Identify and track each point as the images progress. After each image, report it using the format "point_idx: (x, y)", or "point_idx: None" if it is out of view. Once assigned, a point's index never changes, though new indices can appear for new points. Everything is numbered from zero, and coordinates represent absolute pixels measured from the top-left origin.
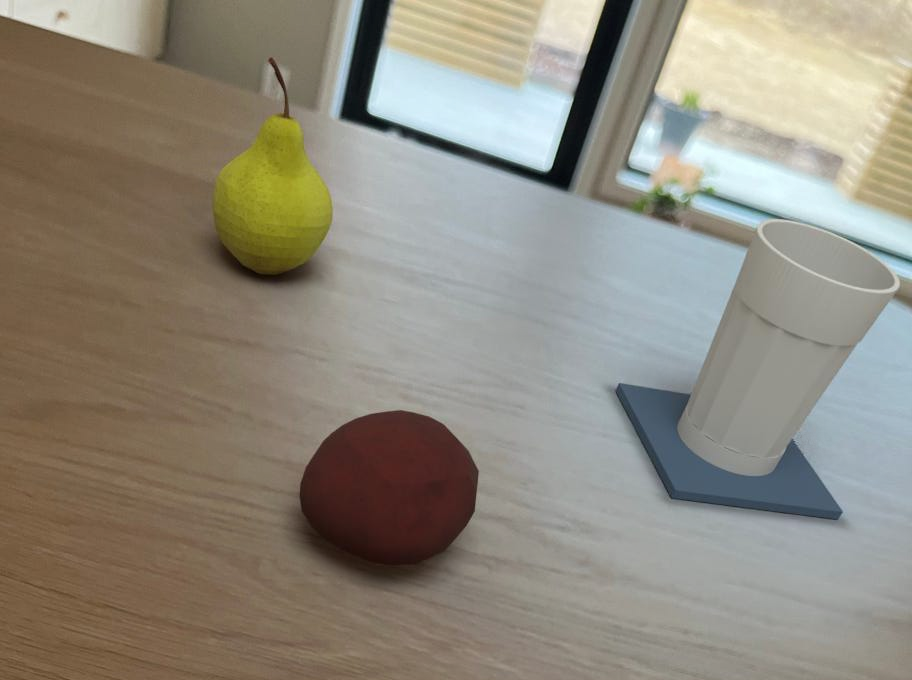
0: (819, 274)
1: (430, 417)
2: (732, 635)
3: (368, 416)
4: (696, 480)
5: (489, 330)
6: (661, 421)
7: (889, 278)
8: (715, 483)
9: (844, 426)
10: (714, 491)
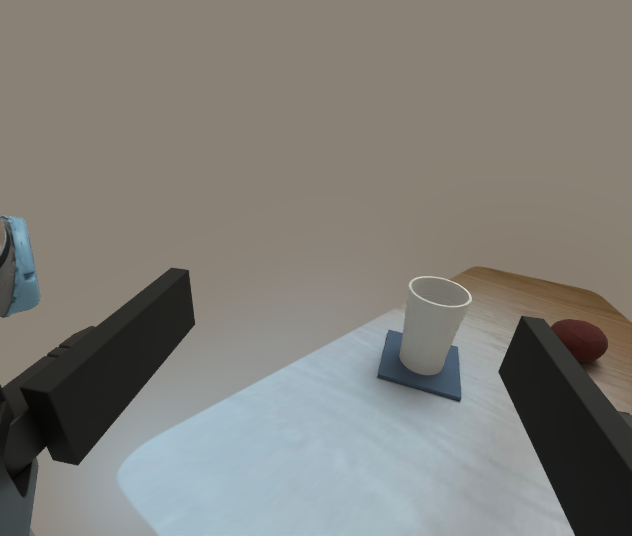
0: (455, 283)
1: (577, 335)
2: None
3: (598, 335)
4: None
5: (530, 456)
6: (448, 373)
7: (412, 283)
8: None
9: (334, 365)
10: None
